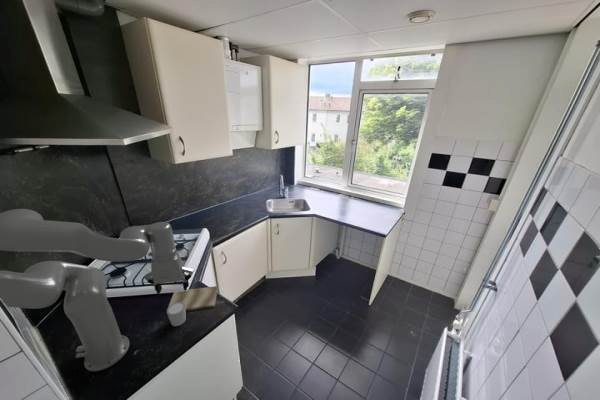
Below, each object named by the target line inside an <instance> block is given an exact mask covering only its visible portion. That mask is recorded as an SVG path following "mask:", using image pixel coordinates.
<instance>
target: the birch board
mask: <svg viewBox="0 0 600 400" xmlns="http://www.w3.org/2000/svg"><path fill="white" fill-rule="evenodd" d="M218 288H219V286H217V285H215V286H207V287H198V288H191V289H187V290H188V291H185V292H174V291H173V294H172V297H171V298H170V301H169V304H168V307H169V306H170V305H172V304H174V303H176V302H183V303H184V304H185V310H186V312H187V311H193V310H200V309H206V308H213V307H214V308H215V306H216V301H217V294H218ZM216 292H217V293H216ZM168 307H167V308H168Z"/></svg>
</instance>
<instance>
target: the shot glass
mask: <svg viewBox="0 0 600 400" xmlns="http://www.w3.org/2000/svg"><path fill="white" fill-rule="evenodd" d="M168 306H169V305H168ZM186 312H187V311H186V310H185V304H184V303H183V302H176V303H174V304H172V305H170V306H169V307H167V309H166V314H167V317H168V319H169V322H170V324H171V326H173V327H178V326H179V327H180V326H181V325H182V324H184V323H185V322H186V320H187V319H186V318H187V316H186V315H187V313H186Z"/></svg>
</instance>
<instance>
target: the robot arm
mask: <svg viewBox="0 0 600 400" xmlns="http://www.w3.org/2000/svg"><path fill="white" fill-rule="evenodd" d="M150 250H151V252H149V251H150ZM0 251H3V252H4V251H5V252H49V253H51V252H53V253H64V252H65V253H74V254H77V255H79V256H82V257H86V258H90V259H93V260H97V261H103V262H133V261H137V260H140V259H143V258H144V257H146V256H147V255H148V257H152V258H151V260H150V261H151V262H150V271H149V272H148V273H146V274H144V276H143V279H144V280H145V281H146V282H147V283H148V284H151V285H152V286H153V287H154V291H155V292H156V294H157V295H159V294H161V292H162V289H163V287H162V286H163V285H162V284H168V283H176V282H180V281H182V287H183V290H185V291H186V290H188V288H189V286H190V283H189V280H190V279H191V278H192V276H193V274H194V272H195V271H194V270H195V269H193V268H188V267H185V266H184V262H183V260H182V258H181V255H180V254H179V253H177V248H176V243H175V239H174V233H173V228H172V226H171V224H170V223H169V222H166V221H158V222H155V223H154V222H153V223H151V224H145V225H133V226H128V227H127V228H124V229H123V230H122V231H121V232H120V234H119V238H116V237H110V236H104V235H101V234H98V233H96V232H95V231H93V230H92V229H90V228H89V227H88V226H86V225H85V224H82V223H80V222H74V221H73V222H72V221H60V220H59V221H57V220H49V219H48V220H47V219H45V220H44V218H43V216H42V215H41V214H40V213H38V211H35V210H32V209H30V208H29V209H28V208H16V209H15V208H14V209H10V210H6V211H3V212H0ZM186 273H187V274H186ZM63 291H65V296H64V301H63V311H64V313H65V315H66V317H67V318H68V319H69V321H70V322H71V323H72V325H73V328H75V332H76V333H77V335H78V337H79V339H80V341H81V345H79V346H77V348H76V349H75V352H76V354H75V358H76V359H79V358H84V360H83V364H84V367H85V369H86V370H87V371H89V372H99V371H103V370H106V369H107V368H110V367H112V366H113V365H114V364H116V363H118V362H119V361H120V360H121V359H122V358H123V357H124V356H125V355H126V353H127V352H128V351H129V348H130V340H129V338H128V337H127V336H125V335H122V334H121V331H120V328H119V326H118V325H119V324H118V323H117V320H116V317H115V314H114V312H113V308H112V306H111V305H110V302H109V300H108V298H107V297H108V296H107V277H106V274H105V272H104V271H102V269H100V268H97V267H92V266H88V265H83V264H77V263H72V262H68V261H67V262H66V261H59V260H46V261H45V260H44V261H40V262H37V263H34V264H33V265H30V266H29V267H28V268H26V270H24V271H23V272H15V271H10V270H0V298H1V299H2V300H3V302H4V303H5V304H6V305H7V306H8V307H7V308H17V309H18V308H19V309H33V310H34V309H43V308H47V307H50V306H51V305H53V304H55V303H56V302H57V300H58V299H59V298H60V296H61V294H62V292H63Z"/></svg>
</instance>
